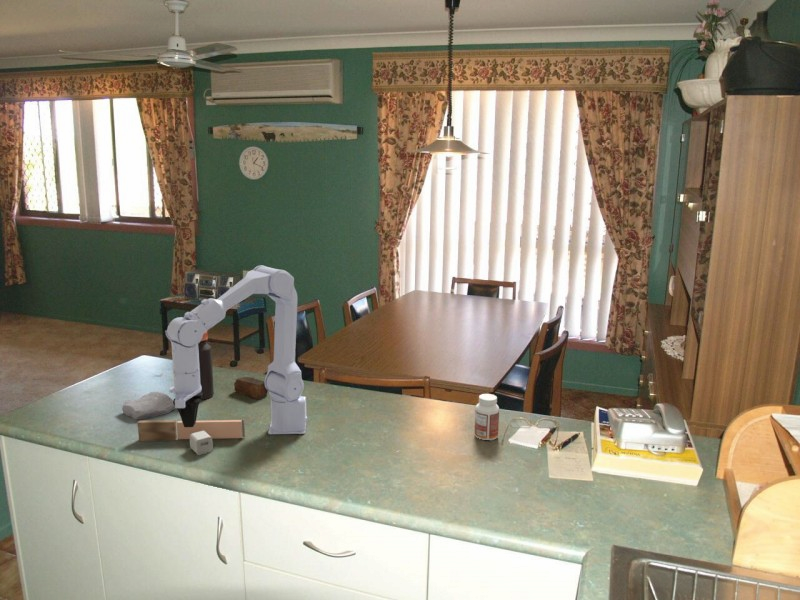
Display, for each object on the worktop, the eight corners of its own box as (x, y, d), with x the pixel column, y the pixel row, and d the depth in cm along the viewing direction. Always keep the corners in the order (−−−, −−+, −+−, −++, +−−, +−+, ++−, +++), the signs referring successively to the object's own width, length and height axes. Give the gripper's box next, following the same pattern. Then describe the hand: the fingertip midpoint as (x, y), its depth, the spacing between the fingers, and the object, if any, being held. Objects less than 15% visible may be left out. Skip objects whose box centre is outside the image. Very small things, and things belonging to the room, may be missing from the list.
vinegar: (209, 400, 184) (206, 335, 179) (186, 399, 184) (182, 334, 179) (216, 391, 190) (213, 329, 186) (194, 391, 190) (191, 328, 186)
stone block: (178, 415, 177) (159, 400, 183) (178, 401, 175) (159, 386, 181) (139, 430, 168) (120, 414, 174) (139, 415, 167) (120, 399, 172)
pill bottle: (495, 431, 167) (497, 392, 164) (499, 441, 161) (502, 401, 158) (472, 431, 166) (474, 392, 164) (476, 441, 160) (478, 401, 158)
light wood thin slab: (245, 436, 160) (244, 418, 159) (244, 437, 159) (243, 420, 158) (178, 437, 159) (177, 419, 158) (177, 439, 158) (176, 421, 157)
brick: (268, 396, 188) (267, 381, 187) (258, 400, 185) (258, 385, 184) (243, 388, 194) (243, 374, 193) (234, 392, 191) (233, 378, 190)
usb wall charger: (196, 455, 150) (196, 440, 149) (186, 445, 155) (185, 430, 154) (212, 451, 153) (212, 436, 152) (202, 441, 158) (201, 426, 157)
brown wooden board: (176, 438, 159) (175, 420, 158) (175, 440, 158) (174, 422, 157) (140, 438, 158) (139, 420, 157) (139, 441, 157) (137, 422, 156)
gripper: (176, 359, 148) (180, 412, 151) (159, 381, 134) (163, 439, 137) (207, 359, 149) (209, 412, 152) (192, 381, 135) (195, 438, 138)
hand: (189, 425), depth 145 cm, fingers closed
